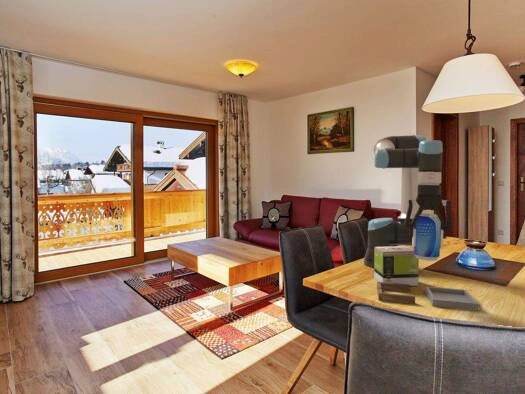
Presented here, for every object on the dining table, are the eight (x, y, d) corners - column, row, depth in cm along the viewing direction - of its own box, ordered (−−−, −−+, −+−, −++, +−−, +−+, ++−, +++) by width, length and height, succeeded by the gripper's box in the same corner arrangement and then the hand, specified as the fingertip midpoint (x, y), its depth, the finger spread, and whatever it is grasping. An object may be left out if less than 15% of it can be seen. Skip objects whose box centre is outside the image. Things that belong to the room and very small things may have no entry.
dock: (376, 288, 134) (377, 281, 134) (409, 291, 130) (410, 284, 130) (378, 300, 121) (378, 293, 121) (415, 304, 118) (415, 297, 117)
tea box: (407, 278, 146) (408, 245, 145) (418, 286, 136) (420, 250, 135) (373, 279, 145) (374, 245, 144) (382, 287, 135) (383, 251, 134)
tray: (425, 292, 129) (425, 286, 129) (466, 296, 125) (466, 289, 125) (432, 306, 116) (432, 299, 116) (478, 310, 112) (478, 303, 112)
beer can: (409, 257, 123) (410, 214, 121) (421, 254, 127) (423, 212, 126) (431, 262, 116) (433, 216, 114) (444, 259, 120) (445, 215, 119)
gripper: (398, 184, 119) (396, 246, 121) (465, 184, 113) (462, 251, 114) (397, 183, 126) (395, 242, 128) (459, 184, 120) (457, 246, 121)
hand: (427, 246), depth 121 cm, fingers closed on beer can, 8 cm apart
